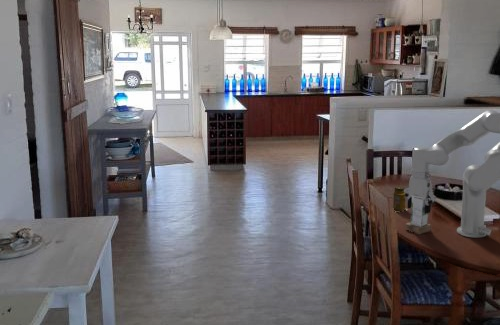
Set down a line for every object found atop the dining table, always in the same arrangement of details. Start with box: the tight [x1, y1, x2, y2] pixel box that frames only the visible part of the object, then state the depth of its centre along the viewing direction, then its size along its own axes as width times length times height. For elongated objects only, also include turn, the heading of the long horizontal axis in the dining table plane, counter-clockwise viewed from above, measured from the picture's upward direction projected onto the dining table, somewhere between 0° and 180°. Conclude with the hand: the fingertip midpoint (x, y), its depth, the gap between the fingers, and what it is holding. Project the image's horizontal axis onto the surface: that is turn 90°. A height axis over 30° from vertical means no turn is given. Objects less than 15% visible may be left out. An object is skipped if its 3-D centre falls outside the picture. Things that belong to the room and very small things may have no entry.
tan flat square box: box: [404, 222, 432, 236], centre depth 237 cm, size 8×8×3 cm
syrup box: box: [410, 195, 429, 227], centre depth 235 cm, size 6×6×14 cm
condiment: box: [392, 186, 410, 213], centre depth 266 cm, size 7×8×12 cm
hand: (418, 210), depth 235 cm, fingers open, 9 cm apart
